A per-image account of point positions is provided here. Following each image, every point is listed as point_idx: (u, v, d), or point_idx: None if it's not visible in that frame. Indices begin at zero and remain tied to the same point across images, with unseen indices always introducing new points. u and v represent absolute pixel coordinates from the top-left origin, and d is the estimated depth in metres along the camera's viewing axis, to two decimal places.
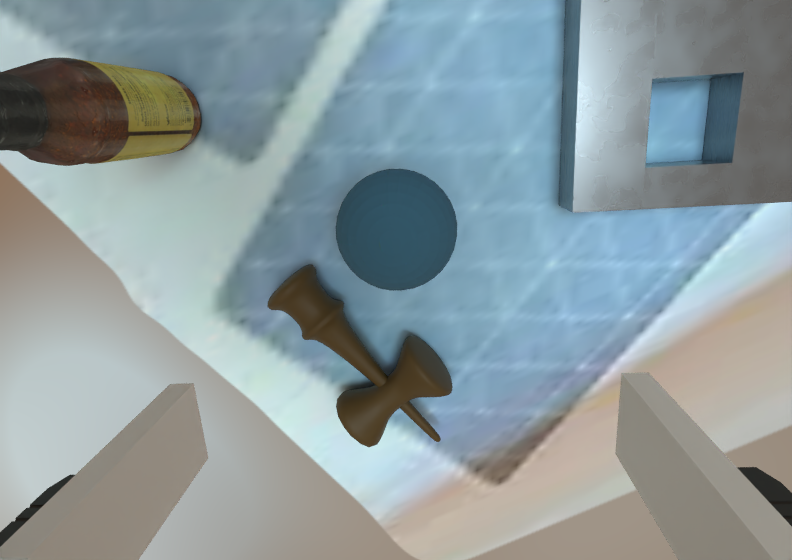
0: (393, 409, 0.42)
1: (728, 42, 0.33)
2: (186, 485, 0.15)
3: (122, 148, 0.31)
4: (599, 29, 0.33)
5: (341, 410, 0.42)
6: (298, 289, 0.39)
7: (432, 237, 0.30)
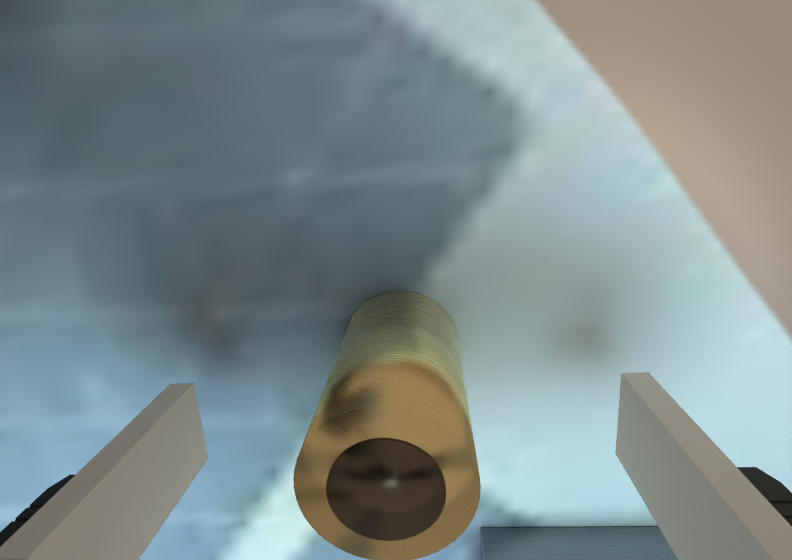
0: None
1: None
2: (185, 485, 0.15)
3: None
4: None
5: None
6: None
7: None
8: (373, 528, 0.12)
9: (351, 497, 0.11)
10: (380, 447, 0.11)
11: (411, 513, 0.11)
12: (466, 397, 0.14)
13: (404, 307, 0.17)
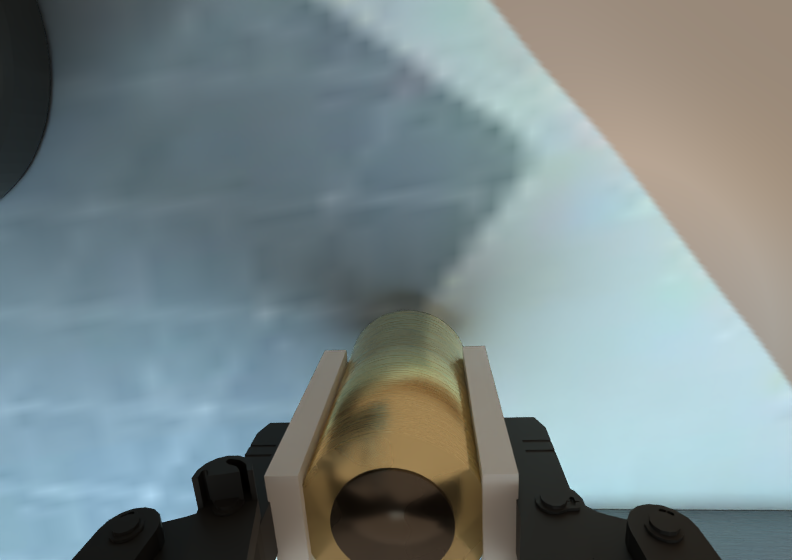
0: None
1: None
2: None
3: None
4: None
5: None
6: None
7: None
8: None
9: (355, 528, 0.11)
10: (387, 477, 0.11)
11: (418, 547, 0.11)
12: None
13: (412, 328, 0.16)
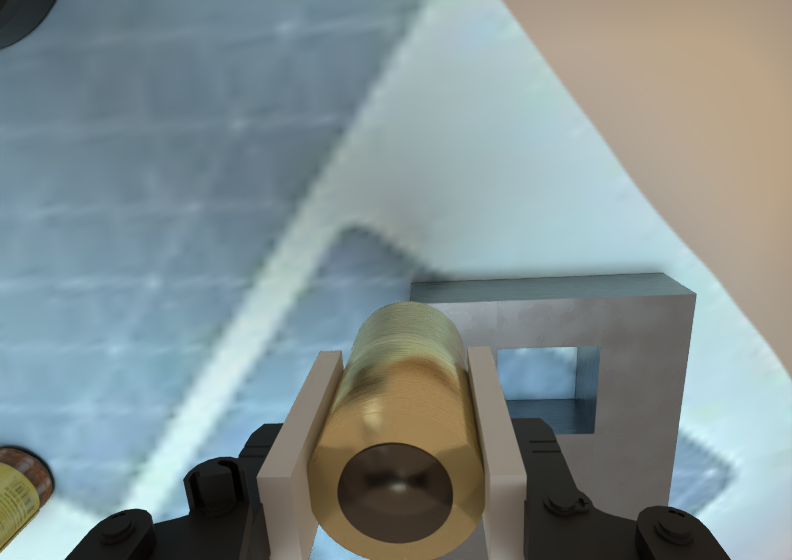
0: None
1: None
2: None
3: None
4: None
5: None
6: None
7: None
8: (381, 531, 0.12)
9: (361, 500, 0.12)
10: (390, 451, 0.11)
11: (419, 516, 0.12)
12: (472, 405, 0.15)
13: (412, 317, 0.17)
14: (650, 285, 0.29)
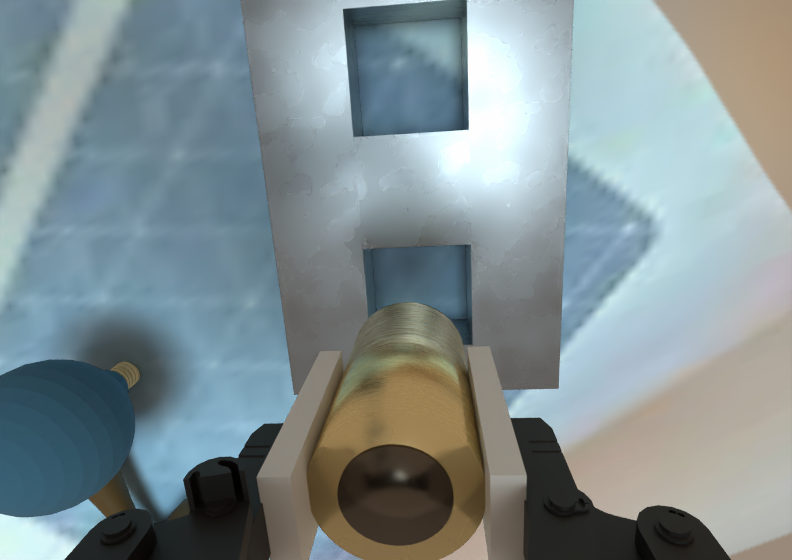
0: None
1: (447, 210, 0.26)
2: None
3: None
4: (289, 191, 0.26)
5: None
6: None
7: (47, 473, 0.24)
8: (381, 533, 0.12)
9: (361, 501, 0.12)
10: (390, 453, 0.11)
11: (419, 518, 0.12)
12: None
13: (413, 318, 0.17)
14: None
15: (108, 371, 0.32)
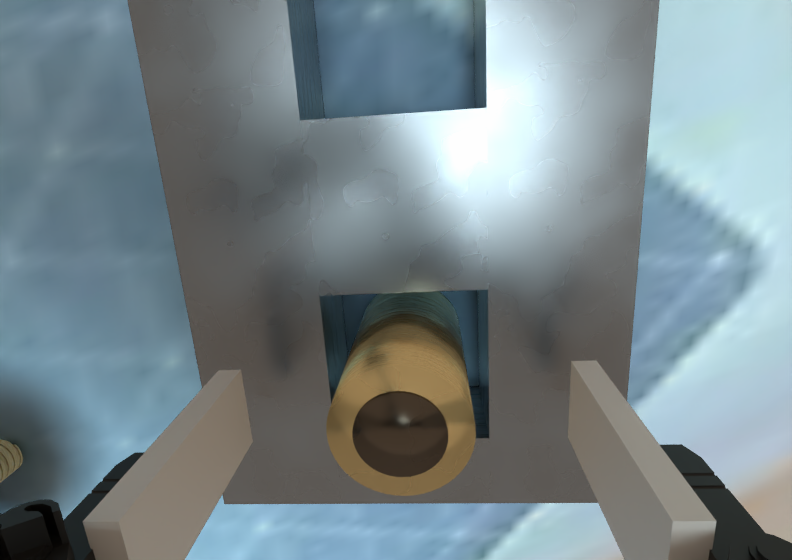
0: None
1: (450, 236, 0.17)
2: (235, 466, 0.15)
3: None
4: (203, 207, 0.17)
5: None
6: None
7: None
8: (388, 466, 0.14)
9: (372, 439, 0.14)
10: (396, 398, 0.14)
11: (420, 453, 0.14)
12: None
13: (414, 295, 0.20)
14: None
15: None
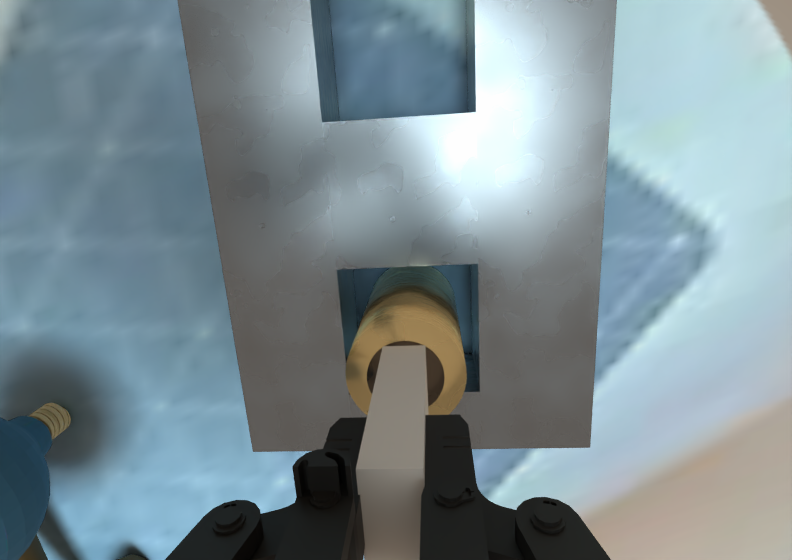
0: None
1: (446, 219, 0.20)
2: None
3: None
4: (240, 195, 0.20)
5: None
6: None
7: None
8: None
9: None
10: None
11: None
12: (459, 329, 0.20)
13: (416, 272, 0.23)
14: None
15: (25, 418, 0.26)
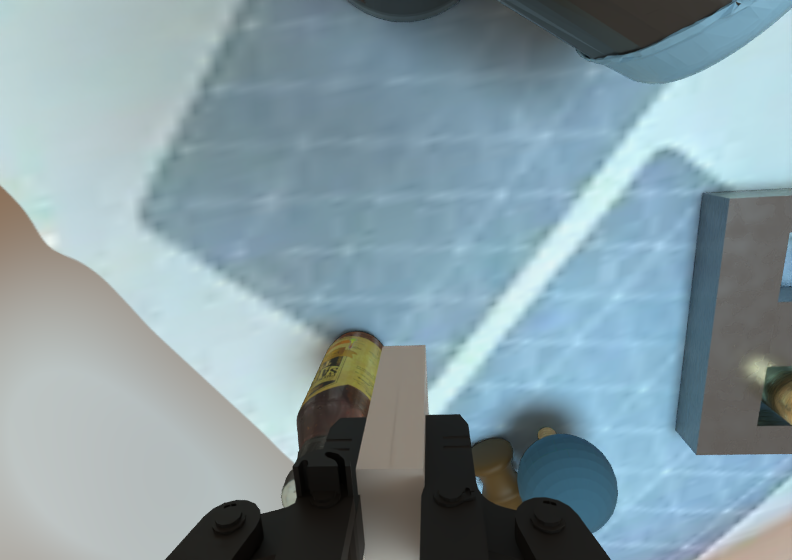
0: None
1: None
2: None
3: None
4: (727, 332, 0.42)
5: None
6: (503, 469, 0.47)
7: (608, 510, 0.40)
8: None
9: None
10: None
11: None
12: None
13: None
14: None
15: None
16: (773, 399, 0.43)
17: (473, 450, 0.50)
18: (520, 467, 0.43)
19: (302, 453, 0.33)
